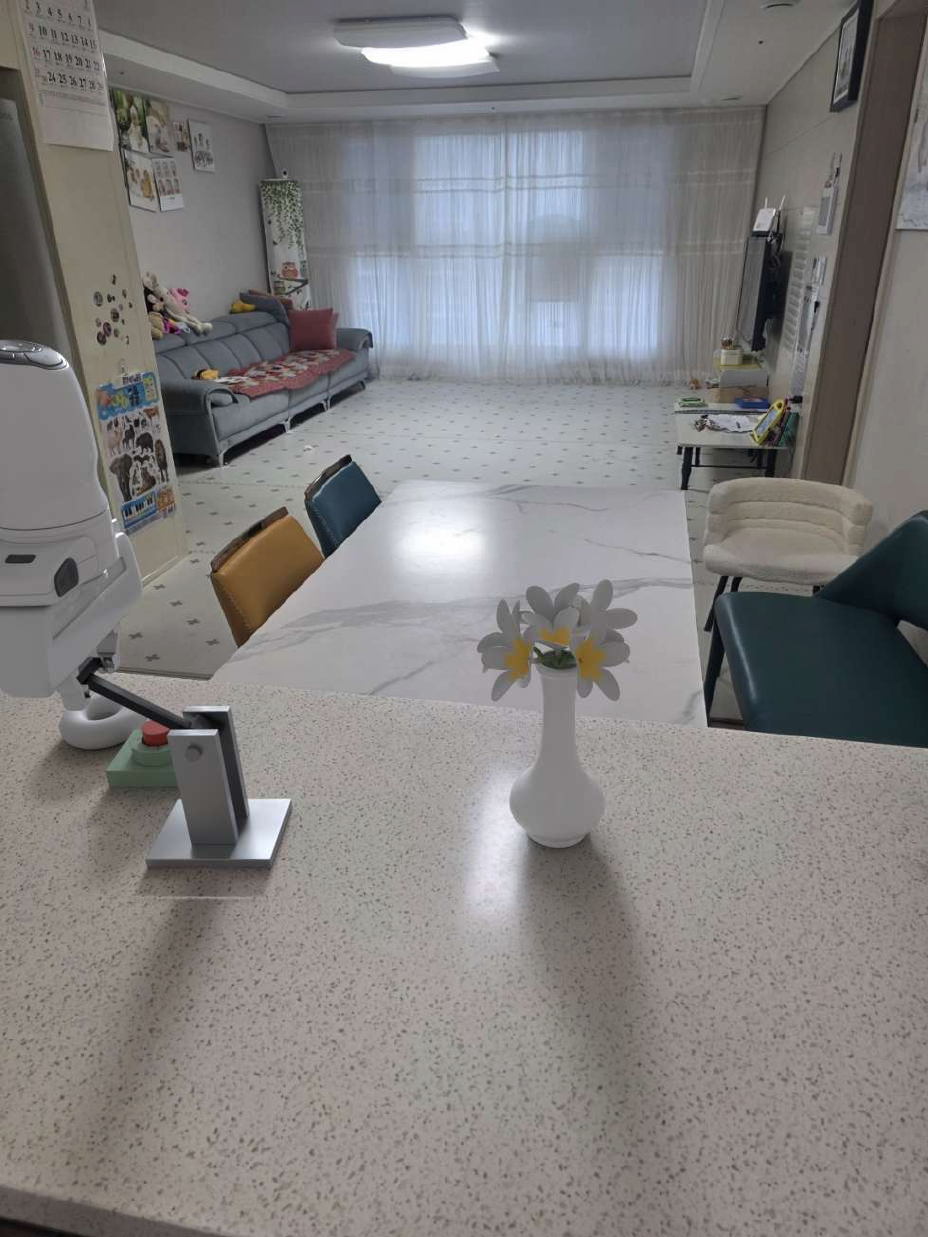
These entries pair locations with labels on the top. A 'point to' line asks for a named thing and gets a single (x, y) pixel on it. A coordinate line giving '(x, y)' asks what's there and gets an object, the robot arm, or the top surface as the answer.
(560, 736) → the flower vase
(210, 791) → the bracket
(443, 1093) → the top surface
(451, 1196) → the top surface
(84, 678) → the lever
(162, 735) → the button
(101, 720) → the donut
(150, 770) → the button box
